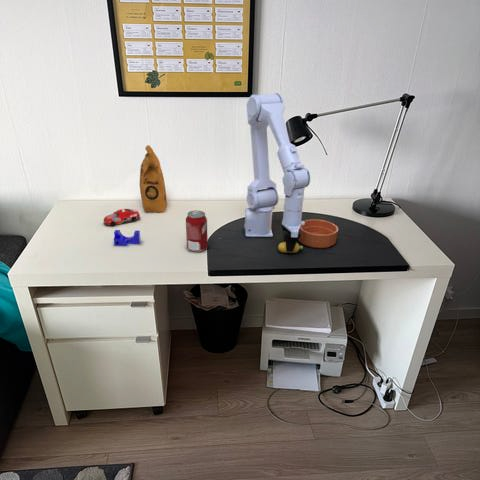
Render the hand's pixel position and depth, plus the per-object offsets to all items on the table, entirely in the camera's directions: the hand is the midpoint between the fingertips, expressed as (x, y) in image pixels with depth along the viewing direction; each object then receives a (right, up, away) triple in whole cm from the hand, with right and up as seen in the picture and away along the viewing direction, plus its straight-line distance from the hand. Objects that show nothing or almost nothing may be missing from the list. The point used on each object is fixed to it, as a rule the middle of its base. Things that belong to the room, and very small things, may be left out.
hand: (288, 248), depth 143 cm
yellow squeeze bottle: (0, -1, +1) cm, 1 cm away
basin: (+11, +4, +9) cm, 14 cm away
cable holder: (-53, +2, +2) cm, 53 cm away
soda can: (-30, 0, +1) cm, 30 cm away
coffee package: (-50, +20, +28) cm, 61 cm away
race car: (-59, +12, +16) cm, 62 cm away
